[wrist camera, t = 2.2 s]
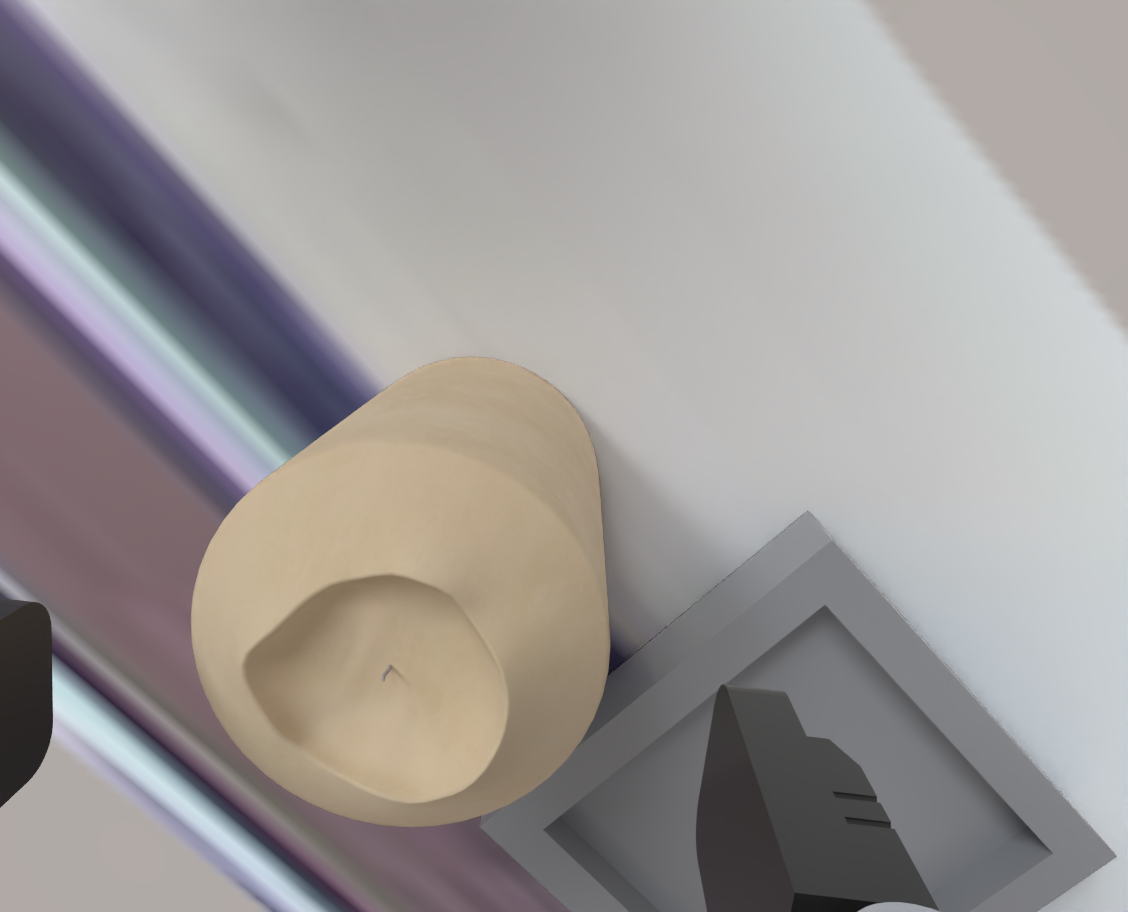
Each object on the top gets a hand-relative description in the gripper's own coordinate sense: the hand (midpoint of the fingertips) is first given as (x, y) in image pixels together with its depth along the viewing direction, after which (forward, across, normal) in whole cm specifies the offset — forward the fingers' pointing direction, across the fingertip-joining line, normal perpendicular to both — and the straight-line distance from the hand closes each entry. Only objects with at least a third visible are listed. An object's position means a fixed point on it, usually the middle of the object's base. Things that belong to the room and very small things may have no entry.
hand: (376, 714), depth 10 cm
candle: (+10, 0, 0) cm, 10 cm away
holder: (+10, -8, +6) cm, 14 cm away
